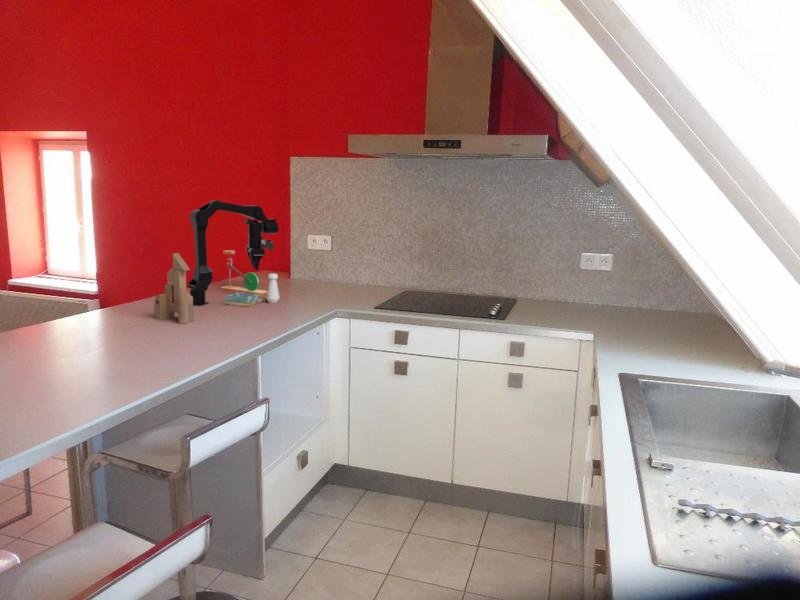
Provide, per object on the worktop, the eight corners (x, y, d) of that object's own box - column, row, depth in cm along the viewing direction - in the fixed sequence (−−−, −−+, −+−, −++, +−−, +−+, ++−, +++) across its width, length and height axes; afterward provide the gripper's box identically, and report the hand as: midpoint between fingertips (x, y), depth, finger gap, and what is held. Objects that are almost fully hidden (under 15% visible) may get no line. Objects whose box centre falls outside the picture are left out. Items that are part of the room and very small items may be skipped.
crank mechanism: (219, 290, 284) (218, 250, 280) (229, 288, 289) (228, 249, 286) (259, 295, 273) (259, 255, 269) (268, 293, 278) (268, 253, 275)
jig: (248, 307, 246) (248, 298, 245) (222, 304, 249) (222, 296, 248) (268, 300, 263) (268, 291, 262) (244, 297, 266) (244, 289, 265)
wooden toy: (153, 318, 218) (150, 252, 213) (167, 315, 223) (165, 251, 219) (183, 324, 211) (181, 256, 206) (197, 321, 217) (195, 254, 212)
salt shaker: (274, 301, 261) (274, 272, 259) (282, 303, 257) (282, 273, 255) (263, 302, 256) (263, 273, 254) (271, 304, 253) (271, 275, 251)
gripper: (276, 235, 254) (276, 271, 257) (270, 232, 271) (270, 265, 274) (250, 235, 250) (250, 271, 253) (245, 232, 267) (245, 266, 270)
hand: (255, 268), depth 262 cm, fingers open, 9 cm apart
